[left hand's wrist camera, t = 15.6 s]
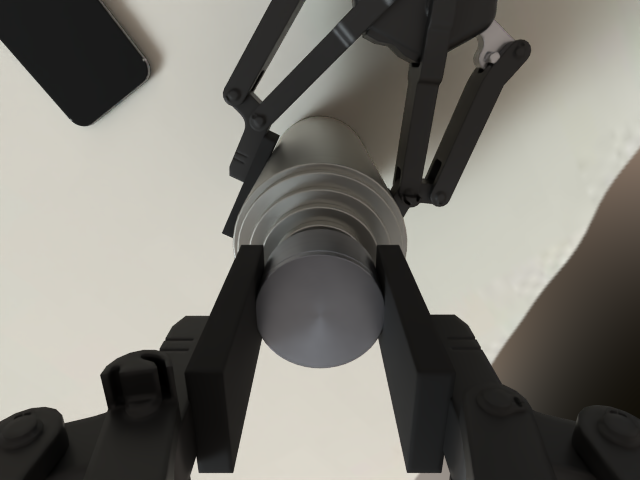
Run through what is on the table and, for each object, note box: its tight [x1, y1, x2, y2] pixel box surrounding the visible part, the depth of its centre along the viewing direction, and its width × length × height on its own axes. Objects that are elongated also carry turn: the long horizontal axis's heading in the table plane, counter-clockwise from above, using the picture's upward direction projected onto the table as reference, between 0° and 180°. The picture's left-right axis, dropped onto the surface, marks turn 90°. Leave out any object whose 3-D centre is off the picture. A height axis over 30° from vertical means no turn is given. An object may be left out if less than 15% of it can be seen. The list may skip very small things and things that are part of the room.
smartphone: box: [0, 0, 150, 126], centre depth 28 cm, size 7×1×15 cm
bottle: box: [233, 116, 407, 267], centre depth 23 cm, size 7×7×21 cm
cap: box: [256, 229, 385, 368], centre depth 14 cm, size 4×4×2 cm
